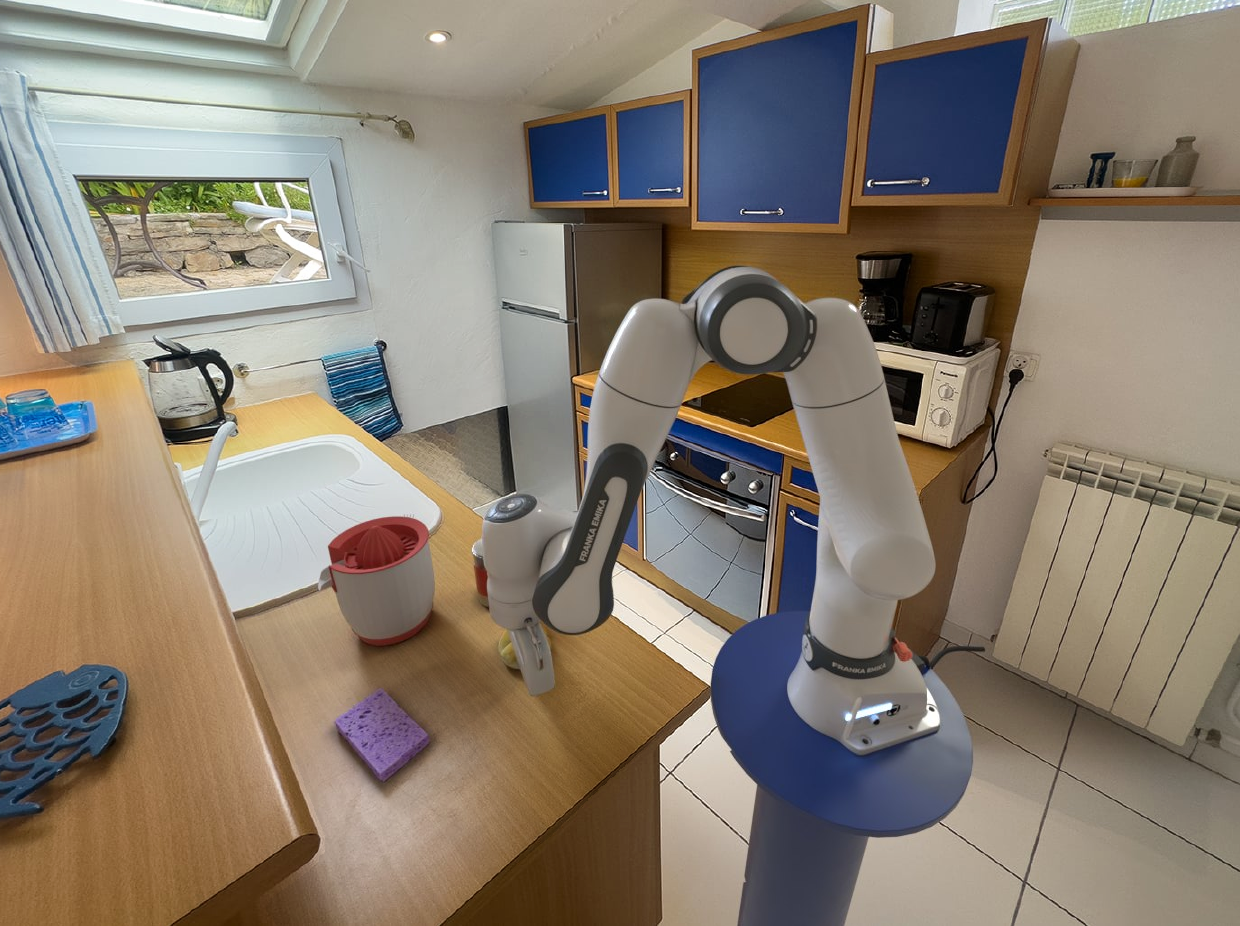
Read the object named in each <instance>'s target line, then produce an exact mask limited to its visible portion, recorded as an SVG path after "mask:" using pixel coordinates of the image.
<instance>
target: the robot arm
mask: <svg viewBox="0 0 1240 926" xmlns="http://www.w3.org/2000/svg"><path fill="white" fill-rule="evenodd" d="M711 361H714V362H715V363H716V364H717V365H718V366H720V367H722V368H723V369H725V370H727V371H729V372H732V373H735V374H738V375H747V376H749V375H750V376H752V375H762V374H768V373H769V374H771V373H774V374H775V373H782V374H783V376H784V379H785V381H786V385H787V389H788V393H789V397H790V400H791V403H792V408H793V410H794V414H795V417H796V421H797V424H798V427H799V431H800V434H801V437H802V442H803V445H804V448H805V451H806V456H807V458H808V461H809V464H810V468H811V471H812V475H813V478H814V482H815V485H816V488H817V492H818V495H819V509H818V523H817V537H816V538H817V539H816V540H817V541H816V571H815V572H816V573H815V579H814V580H815V581H814V588H813V593H812V599H811V607H810V610H809V611H810V612H809V614H808V616H807V619H806V623H805V628H804V634H803V639H802V653H801V655H800V658H799V661H798V663H797V665H796V667H795V669H794V670H793V672H792V673H791V675H790V677H789V679H788V683H787V693H788V697H789V700H790V703H791V705H792V707H793V708H794V710H795V711H796V713H797V714H798V715H799V716H800V717H801V718H802V719H803V720H804V721H805V722H806V723H807V724H808V725H809V726H811V727H812V728H814V729H815V730H817V731H819V732H820V733H822V734H824V735H827V736H829V737H831V738H834V739H836V740H838V741H839V742H840V743H842V744H843V745H844V746H845V747H846V748H848V749H849V750H850V751H852V752H853V753H855V754H857V755H865V754H868V753H871V752H874V751H877V750H880V749H883V748H886V747H889V746H892V745H896V744H899V743H902V742H905V741H908V740H911V739H914V738H917V737H920V736H923V735H926V734H929V733H932V732H935V731H937V730H939V729H940V714H939V710H938V707H937V705H936V703H935V701H934V699H933V697H932V695H931V693H930V692H929V690H928V689H927V687H926V684H925V681H924V679H923V676H922V673H923V669H924V666H926V667H928V668H931V669H932V668H934V666H936V665H937V664H938V663H939V662H940V661H941V659H943V657H945V656H946V655H947V654H950V653H953V652H954V653H955V652H973V653H975V652H976V653H983V652H986V648H985V647H984V646H970V645H955V646H949V647H946V648H944V649H942V650H940V651H939V652H937V654H936V655H935V656H934V657H933V658H932V659H931V660H929V658H928V657H927V656H925V655H921V654H916V652H914V650H912V649H911V648H910V647H909V646H908V645H907V644H906V643H905V642H904V641H903V640H901V641H899V640H898V637H897V633H896V632H895V630H894V629H893V628H892V627H893V622H894V619H895V614H896V610H897V606H898V601H900V600H905V599H908V598H912V597H914V596H916V595H917V594H919V593H920V592H922V591H923V590H925V589H926V587H927V586H928V585H929V584H930V583H931V582H932V580H933V578H934V575H935V573H936V557H935V552H934V548H933V544H932V543H933V542H932V540H931V537H930V533H929V530H928V526H927V523H926V519H925V516H924V512H923V509H922V506H921V503H920V499H919V495H918V492H917V489H916V486H915V483H914V480H913V477H912V474H911V471H910V467H909V465H908V462H907V458H906V455H905V453H904V450H903V447H902V444H901V441H900V438H899V436H898V435H899V434H898V431H897V427H896V423H895V419H894V414H893V410H892V405H891V401H890V396H889V393H888V389H887V384H886V379H885V375H884V370H883V367H882V363H881V361H880V357H879V354H878V351H877V347H876V345H875V342H874V340H873V337H872V335H871V332H870V330H869V328H868V325H867V324H866V321H865V320H864V317H863V315H862V312H861V311H860V310H859V308H858V307H857V306H856V305H855V304H853V302H851V301H850V300H846V299H843V298H839V297H820V298H816V299H813V300H809V301H807V302H804V301H802V300H801V299H800V298H798V297H797V295H795V294H794V292H792V291H791V290H790V288H788V287H787V286H786V285H784V284H783V283H781V282H780V281H779V279H777V278H776V277H774V276H773V275H771V274H770V273H769V272H767V271H765V270H763V269H761V268H758V267H757V268H756V267H752V266H746V265H731V266H726V267H723V268H721V269H719V270H717V271H715V272H714V273H712V274H711V275H709V276H708V277H706V279H704V280H703V281H702V282H701V283H700V284H699V285H698V286H697V287H695V288H694V289H693V290H692V291H690V292H689V293H688V294H687V295H686V296H684V297H683V299H681V303H680V302H679V303H678V302H676V301H672V300H669V299H665V298H655V297H654V298H645V299H642V300H640V301H638V302H636V303H635V304H633V306H631V307H630V308H629V310H628V311H627V313H626V315H625V316H624V318H623V320H622V321H621V323H620V325H619V326H618V329H617V330H616V332H615V334H614V336H613V338H612V341H611V342H610V345H609V346H608V349H607V351H606V353H605V356H604V358H603V361H602V363H601V366H600V369H599V372H598V374H597V377H596V381H595V384H594V387H593V392H592V396H591V401H590V406H589V413H588V421H587V422H588V424H587V444H586V445H587V449H586V451H587V452H586V453H587V455H586V473H585V482H584V487H583V494H582V498H581V501H580V504H579V507H578V510H576V511H570V510H566V509H562V508H557V507H554V506H551V505H549V504H547V503H545V502H544V501H542V500H541V499H540V498H539V497H537V496H536V495H533V494H528V493H527V494H526V493H519V494H512V495H509V496H507V497H506V496H505V497H504V498H502V499H501V500H499V501H496V502H495V503H494V504H493V505H492V506H491V507H490V508H489V509H488V510H487V511H486V513H485V516H484V517H483V520H482V526H481V538H482V551H483V561H484V566H485V569H486V571H487V576H488V580H487V592H488V600H489V607H488V608H489V614H490V618H491V620H492V622H494V624H496V625H498V627H501V628H503V629H505V630H506V629H507V632H508V635H509V638H510V641H511V644H512V646H513V649H514V652H515V655H516V658H517V661H518V664H519V667H520V669H519V670H520V672H521V673H520V674H521V676H522V678H523V681H524V683H525V686H526V691H527V692H528V696H530V697H537V696H540V695H544V694H546V693H548V692H550V691H552V690H553V689H554V688H555V685H556V681H555V680H556V679H555V671H554V664H553V656H552V652H551V649H550V647H549V644H548V641H547V638H546V636H545V634H544V631H543V629H542V627H541V624H543V625H544V626H546V627H548V628H549V629H551V630H552V631H554V632H556V633H558V634H560V635H566V636H579V635H583V634H584V635H585V634H587V633H590V632H592V631H594V630H596V629H598V628H599V627H601V626H602V625H603V624H605V623H606V622H607V621H608V620H609V619H610V617H611V616H612V614H613V611H614V607H615V595H614V587H613V574H614V569H615V565H616V562H617V560H618V557H619V554H620V551H621V549H622V546H623V543H624V540H625V538H626V534H627V532H628V529H629V526H630V523H631V520H632V519H633V518H632V517H633V515H634V512H635V509H636V506H637V504H638V501H639V498H640V495H641V494H642V493H641V492H642V490H643V488H644V486H645V484H646V482H647V480H648V477H649V476H650V474H651V471H652V469H653V467H654V465H655V462H656V460H657V458H658V456H659V454H660V452H661V450H662V448H663V446H664V444H665V442H666V440H667V438H668V435H669V434H670V431H671V429H672V427H673V425H674V423H675V420H676V419H677V416H678V414H679V412H680V409H681V407H682V404H683V403H684V400H685V397H686V394H687V391H688V388H689V386H690V383H691V381H692V380H693V379H694V377H695V375H696V374H697V372H699V370H700V369H701V368H702V367H703V366H704V365H706V364H707V363H710V362H711ZM541 622H542V623H541ZM540 623H541V624H540ZM930 710H931V711H932V712H931V711H930ZM863 742H865V743H867V744H864V743H863Z"/></svg>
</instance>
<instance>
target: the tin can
mask: <svg viewBox="0 0 1240 926" xmlns="http://www.w3.org/2000/svg"><path fill="white" fill-rule="evenodd" d="M471 551H472V559H473V560H472V563H473V570H474V571H473V572H474V578H475V585H476V591H477V596H478V602H479V603H480V604H481V605H482V606H484V607H486V608H489V600H488V592H487V580H488V576H487V571H486V569H485V566H484V561H483V551H482V537H481V538H479V539H478V540H476V541H475V542H474V544H473V545H472V548H471Z"/></svg>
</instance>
